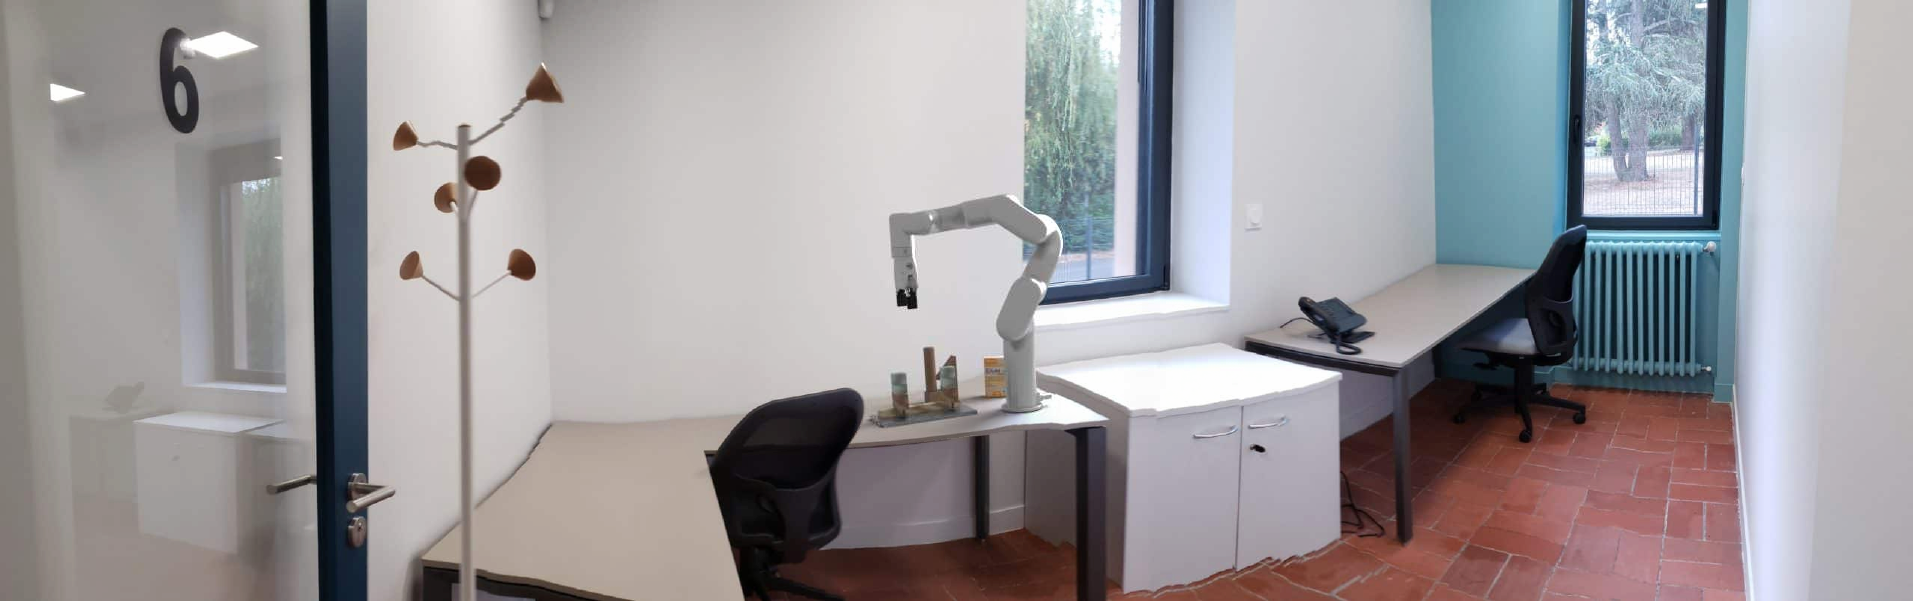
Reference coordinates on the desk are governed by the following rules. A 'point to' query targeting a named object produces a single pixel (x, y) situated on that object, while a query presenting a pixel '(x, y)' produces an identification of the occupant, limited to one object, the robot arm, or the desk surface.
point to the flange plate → (924, 416)
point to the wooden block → (934, 375)
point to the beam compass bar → (947, 401)
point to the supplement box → (994, 376)
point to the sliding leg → (899, 391)
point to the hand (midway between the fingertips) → (907, 307)
